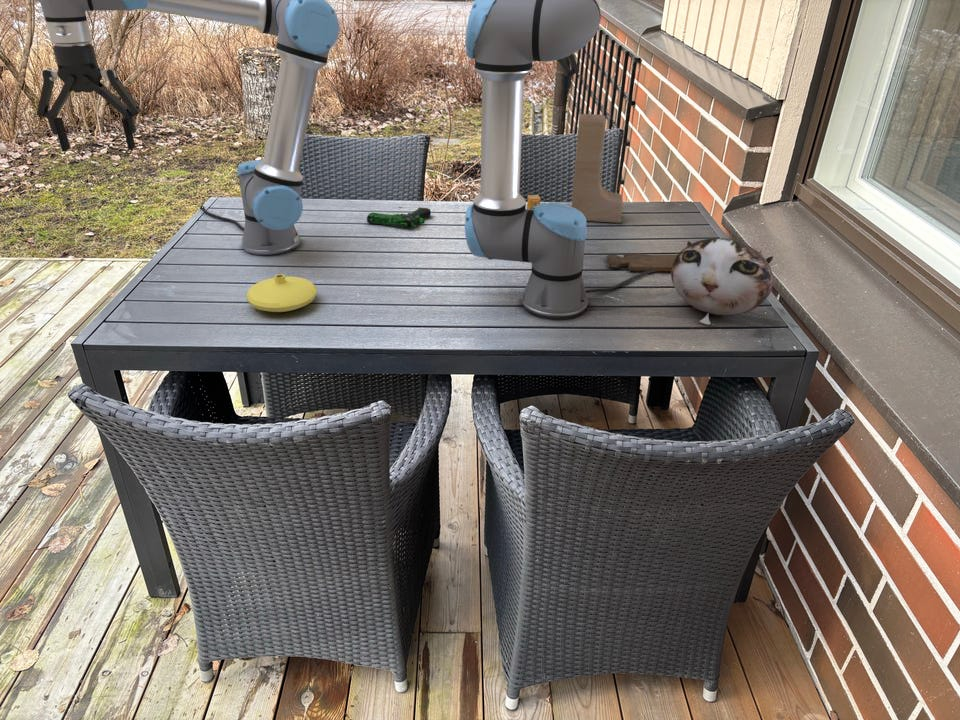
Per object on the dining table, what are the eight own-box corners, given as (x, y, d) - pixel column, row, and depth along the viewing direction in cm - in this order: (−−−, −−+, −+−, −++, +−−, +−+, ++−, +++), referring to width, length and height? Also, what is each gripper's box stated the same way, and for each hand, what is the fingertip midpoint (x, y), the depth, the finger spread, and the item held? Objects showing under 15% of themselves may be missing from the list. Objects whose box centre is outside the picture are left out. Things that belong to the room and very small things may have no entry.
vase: (286, 284, 175) (283, 257, 171) (332, 301, 167) (329, 273, 164) (233, 306, 164) (228, 278, 160) (279, 326, 156) (275, 297, 153)
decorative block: (620, 223, 215) (632, 121, 200) (570, 220, 217) (579, 118, 202) (619, 215, 222) (631, 115, 206) (571, 212, 223) (579, 113, 208)
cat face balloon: (648, 301, 158) (677, 217, 159) (664, 323, 173) (690, 247, 175) (752, 325, 147) (781, 236, 149) (759, 346, 163) (785, 265, 164)
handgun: (436, 208, 217) (413, 222, 205) (436, 217, 219) (414, 232, 206) (389, 201, 223) (364, 215, 210) (390, 211, 224) (365, 224, 212)
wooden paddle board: (709, 275, 184) (700, 260, 193) (711, 268, 183) (701, 254, 192) (609, 271, 184) (605, 256, 193) (610, 265, 183) (605, 250, 192)
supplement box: (527, 231, 209) (529, 198, 204) (525, 227, 212) (527, 194, 207) (538, 231, 209) (540, 198, 204) (536, 227, 212) (538, 194, 207)
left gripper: (-2, 46, 141) (31, 154, 152) (131, 46, 144) (154, 152, 155) (14, 41, 147) (45, 145, 158) (141, 41, 150) (163, 143, 161)
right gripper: (497, 15, 176) (495, 104, 187) (595, 15, 179) (587, 103, 190) (492, 12, 183) (490, 99, 193) (587, 13, 186) (580, 98, 197)
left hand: (99, 149), depth 156 cm, fingers open, 13 cm apart
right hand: (538, 101), depth 192 cm, fingers open, 13 cm apart
